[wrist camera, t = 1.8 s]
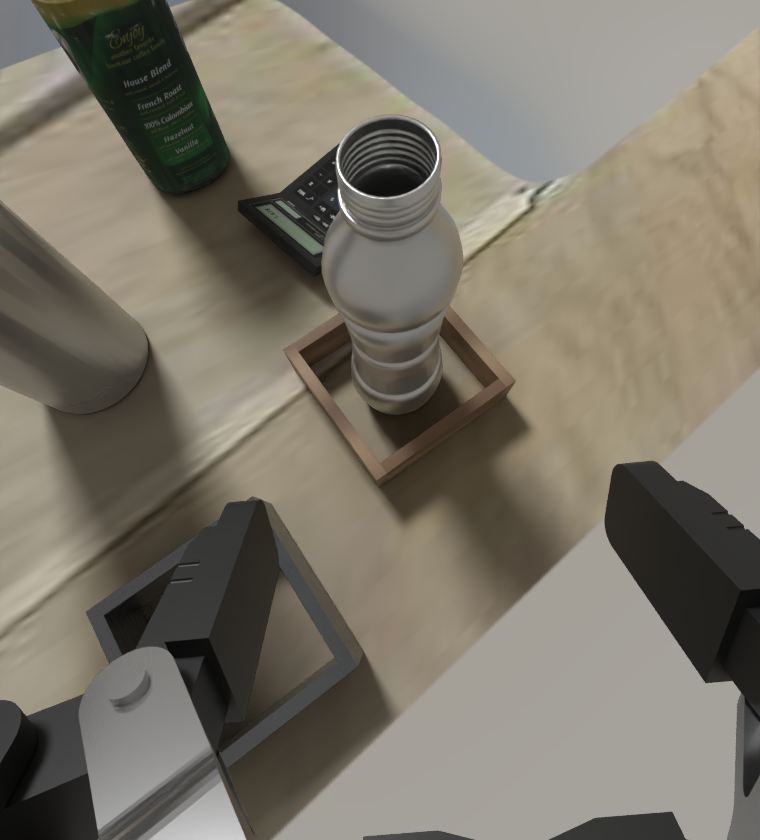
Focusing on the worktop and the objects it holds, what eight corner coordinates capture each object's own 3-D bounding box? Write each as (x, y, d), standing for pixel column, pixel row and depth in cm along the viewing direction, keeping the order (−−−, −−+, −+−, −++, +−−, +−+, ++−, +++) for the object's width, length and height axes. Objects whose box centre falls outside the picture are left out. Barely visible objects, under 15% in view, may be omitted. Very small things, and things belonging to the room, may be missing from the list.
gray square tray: (126, 604, 30) (85, 611, 26) (270, 503, 32) (252, 496, 28) (207, 773, 27) (175, 808, 23) (363, 651, 29) (357, 666, 25)
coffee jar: (246, 171, 41) (124, -127, 23) (168, 211, 40) (-22, -67, 22) (202, 106, 43) (63, -206, 26) (128, 142, 42) (-70, -155, 25)
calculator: (415, 206, 39) (416, 178, 36) (319, 292, 37) (312, 270, 34) (340, 151, 41) (336, 121, 38) (246, 229, 39) (234, 204, 36)
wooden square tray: (292, 366, 35) (283, 349, 32) (412, 288, 36) (413, 265, 33) (379, 487, 32) (376, 480, 29) (506, 395, 33) (515, 380, 30)
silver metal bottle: (446, 348, 35) (499, 90, 15) (431, 430, 33) (469, 254, 14) (365, 334, 35) (319, 71, 16) (345, 415, 33) (268, 225, 14)
